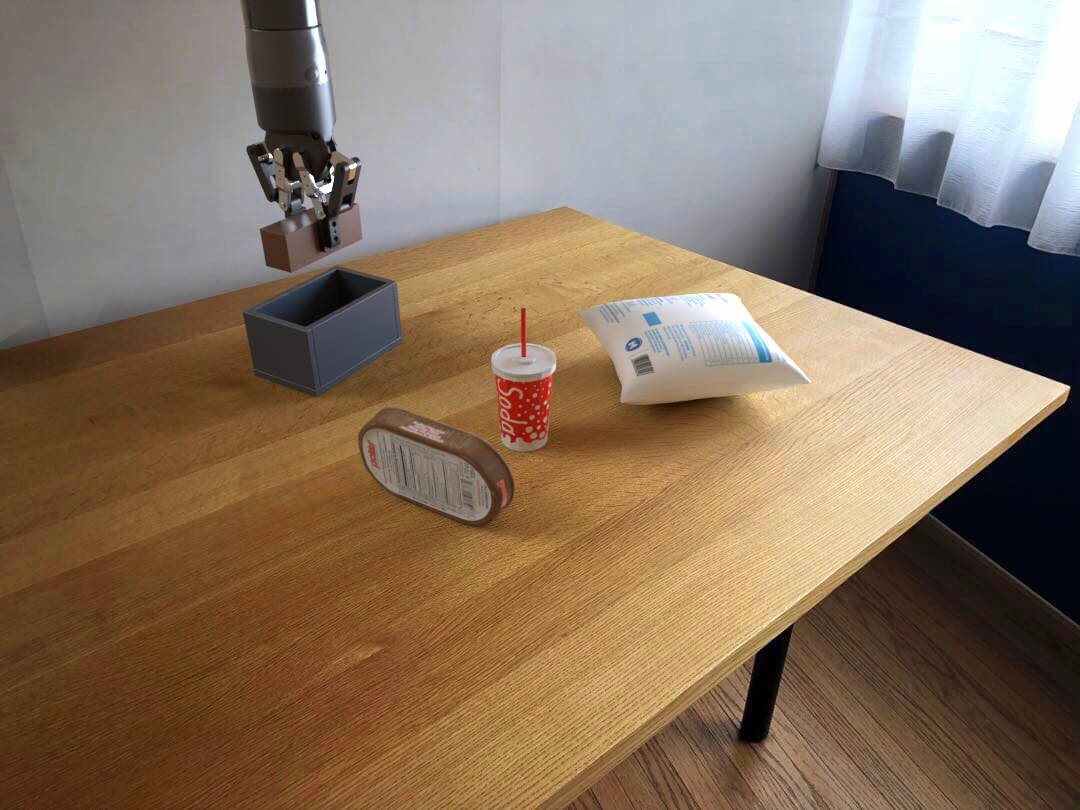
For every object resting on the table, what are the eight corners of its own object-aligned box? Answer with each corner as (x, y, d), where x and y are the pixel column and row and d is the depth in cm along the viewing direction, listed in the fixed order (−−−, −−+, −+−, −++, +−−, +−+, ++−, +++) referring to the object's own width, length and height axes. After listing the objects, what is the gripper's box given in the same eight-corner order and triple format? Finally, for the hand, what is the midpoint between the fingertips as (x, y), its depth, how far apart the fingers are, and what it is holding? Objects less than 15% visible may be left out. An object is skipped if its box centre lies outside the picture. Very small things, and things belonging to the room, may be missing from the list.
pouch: (621, 364, 81) (818, 338, 84) (575, 287, 98) (741, 268, 101) (620, 434, 85) (808, 408, 88) (576, 350, 102) (736, 330, 105)
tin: (517, 523, 74) (516, 442, 69) (497, 544, 71) (495, 461, 67) (380, 469, 80) (371, 392, 76) (357, 487, 78) (347, 408, 73)
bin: (316, 397, 91) (306, 331, 87) (254, 375, 95) (241, 311, 91) (402, 342, 102) (397, 281, 98) (343, 324, 106) (336, 265, 101)
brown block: (338, 233, 96) (334, 198, 94) (362, 239, 95) (358, 203, 93) (265, 266, 88) (259, 228, 86) (291, 273, 87) (285, 235, 85)
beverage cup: (481, 433, 85) (476, 304, 78) (533, 415, 88) (533, 289, 81) (514, 463, 81) (512, 330, 74) (567, 443, 84) (571, 313, 76)
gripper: (374, 77, 82) (390, 248, 91) (266, 62, 88) (291, 224, 97) (319, 91, 76) (342, 272, 85) (208, 74, 82) (240, 245, 91)
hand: (315, 245), depth 91 cm, fingers closed on brown block, 3 cm apart
